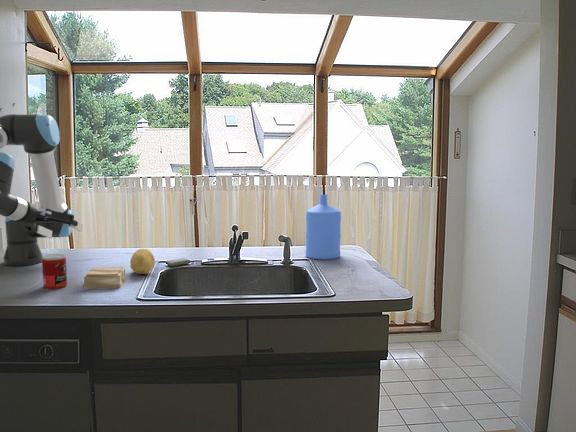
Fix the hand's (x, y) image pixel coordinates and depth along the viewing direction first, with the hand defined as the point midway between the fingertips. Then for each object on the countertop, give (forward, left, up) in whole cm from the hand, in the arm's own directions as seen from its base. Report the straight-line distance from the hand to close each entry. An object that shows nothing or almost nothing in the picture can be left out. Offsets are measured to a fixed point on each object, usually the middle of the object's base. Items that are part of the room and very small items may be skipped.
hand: (66, 231), depth 199 cm
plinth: (+5, +14, -19) cm, 24 cm away
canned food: (+6, -3, -19) cm, 20 cm away
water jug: (-33, +102, -19) cm, 109 cm away
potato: (-10, +25, -19) cm, 33 cm away
